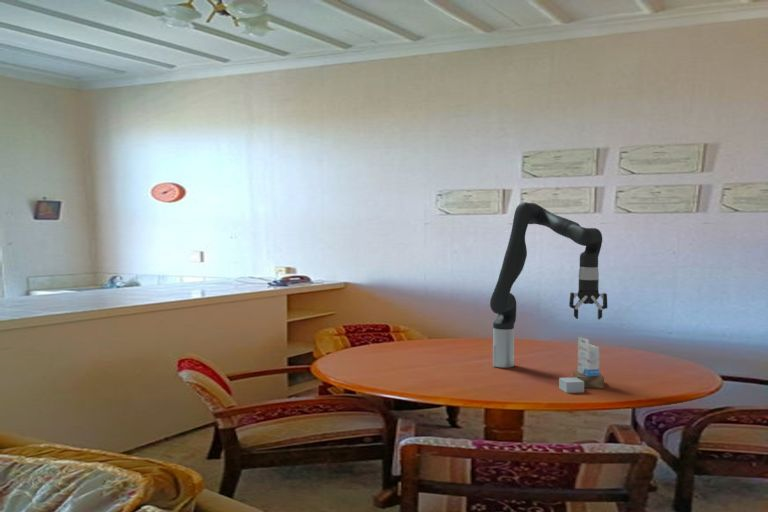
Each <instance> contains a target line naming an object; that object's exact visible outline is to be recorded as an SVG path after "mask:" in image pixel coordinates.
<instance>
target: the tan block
mask: <svg viewBox="0 0 768 512" xmlns="http://www.w3.org/2000/svg"><path fill="white" fill-rule="evenodd" d="M572 373H573V375H572V376H573V377H577V378H578V379H580V380H582V381H584V388H593V389H594V388H596V389H604V388H605V377H604V375H602V373H600V371H599V376H594V377H588V376H585V375H583V374H581V373H579V372H578V370H573V372H572ZM573 377H572V378H573Z"/></svg>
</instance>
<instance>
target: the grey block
mask: <svg viewBox="0 0 768 512" xmlns="http://www.w3.org/2000/svg"><path fill="white" fill-rule="evenodd" d="M558 388H559V389H560V390H561V391H563V392H564V393H566V394H570V393H571V394H573V393H585V387H584V381H582V380H580V379H578V378H577V377H559V378H558Z"/></svg>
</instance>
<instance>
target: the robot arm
mask: <svg viewBox="0 0 768 512" xmlns="http://www.w3.org/2000/svg"><path fill="white" fill-rule="evenodd" d="M514 211H515V212H514V213H513V220H512V224H511V225H512V227H511V232H510V235H509V239H508V244H507V247H506V250H505V254H504V256H503V257H504V258H503V261H502V265H501V268H500V271H499V275H498V279H497V282H496V285H495V288H494V289H493V292H492V295H491V298H490V302H489V307H490V309H491V311H492V312H493V314H497V317H496V319H495V320H494V321H493V323H492V326H493V327H492V329H493V330H492V338H493V339H492V342H493V343H492V366H493V367H495V368H503V369H504V368H506V369H507V368H512V367H514V366H515V365H514V363H515V361H514V360H515V359H514V358H515V352H514V351H515V350H514V349H515V325H516V324H515V323H516V320H517V299H516V297H515V295H514V294H513V293H512V292H511V290H512V287H513V285H514V283H515V282H516V281H517V279H518V278H519V276H520V275H521V273H522V271H523V270H524V267H525V264H526V259H527V256H528V250H527V244H526V243H527V242H526V235H527V234H526V232H527V229H528V226H529V225H539V226H544V227H547V228H549V229H551V230H552V231H553V232H554V233H556V234H558V235H560V236H562V237H565V238H567V239H569V240H571V241H572V242H574V243H575V244H577V245H580V246H583V247H585V249H584V251H583V252H581V253H580V255H579V270H578V291H577V292H570V294H569V304H568V306H569V307H570V308H571V309H573V317H574V318H575V319H576V320H578V319H579V308H580V307H581V306H582V305H587V304H589V305H593V304H594V305H595V306H596V307H597V308H598V309H597V320H601V319H602V318H603V310H606V309H608V294H607V293H605V292H603V293H600V292H599V282H600V281H599V280H600V279H599V278H600V277H599V275H600V273H599V271H600V270H599V256H600V252H601V248H602V244H603V235H602V232H601V231H600V230H599V229H598V228H596V227H590V228H589V227H583V226H581V224H579V223H578V222H575V221H573V220H571V219H568V218H566V217H562V216H559V215H557V214H554V213H552V212H551V211H549V210H547V209H545V208H544V207H542V206H541V205H539V204H537V203H533V202H526V201H525V202H524V201H523V202H520V203H519V204H518V205H517V206H516V208H515V210H514ZM576 298H578V299H579V300H577V302H576V303H575V305H574V302H575V300H574V299H576ZM599 298H601V300H602V304H600V303H599V301H598V299H599Z"/></svg>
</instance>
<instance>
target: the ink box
mask: <svg viewBox="0 0 768 512" xmlns="http://www.w3.org/2000/svg"><path fill="white" fill-rule="evenodd" d="M577 340H578V341H577V371H578V372H579V373H581V374H583V375H585V376H588V377H594V376H599V372H600V346H597V345H593V344H591V343H590V339H588V338H585V337H581V336H578V339H577ZM583 341H584V342H583Z"/></svg>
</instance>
